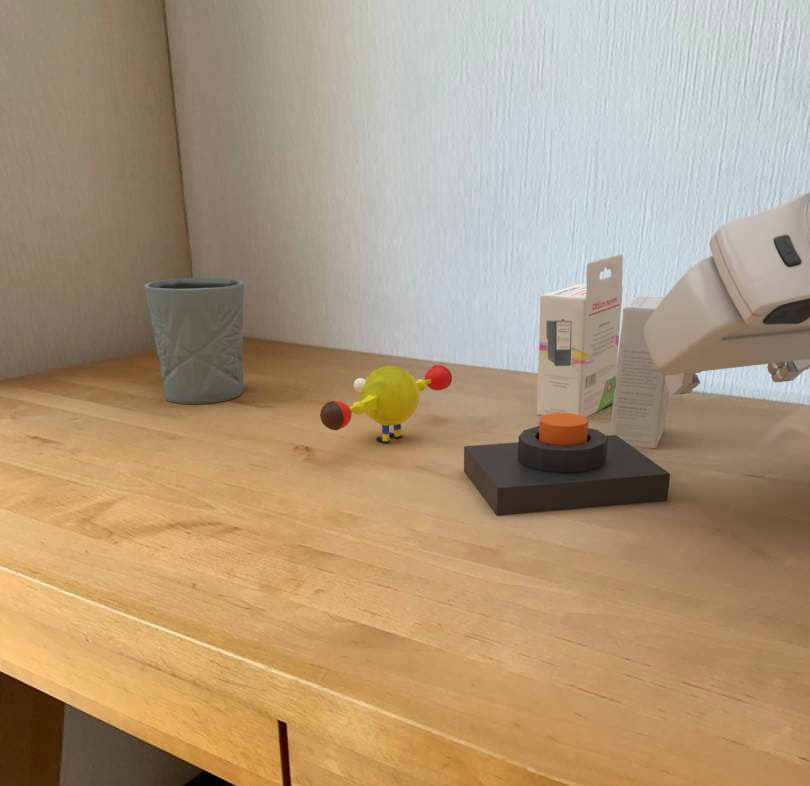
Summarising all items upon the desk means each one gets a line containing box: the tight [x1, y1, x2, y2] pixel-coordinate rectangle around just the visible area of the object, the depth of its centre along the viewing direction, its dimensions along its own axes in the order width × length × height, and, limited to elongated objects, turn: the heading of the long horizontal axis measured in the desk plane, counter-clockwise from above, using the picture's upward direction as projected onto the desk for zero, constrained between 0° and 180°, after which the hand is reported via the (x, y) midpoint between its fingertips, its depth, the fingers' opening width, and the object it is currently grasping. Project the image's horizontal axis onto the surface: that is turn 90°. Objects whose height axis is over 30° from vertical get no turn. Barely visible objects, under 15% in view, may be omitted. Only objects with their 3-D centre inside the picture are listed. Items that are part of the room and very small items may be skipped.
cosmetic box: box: [609, 296, 670, 450], centre depth 76 cm, size 6×4×12 cm
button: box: [539, 413, 589, 445], centre depth 66 cm, size 4×4×2 cm
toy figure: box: [319, 364, 453, 445], centre depth 79 cm, size 18×6×7 cm, turn 145°
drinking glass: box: [143, 277, 245, 405], centre depth 95 cm, size 10×10×12 cm
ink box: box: [536, 253, 624, 418], centre depth 85 cm, size 9×5×15 cm, turn 144°
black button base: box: [463, 425, 671, 517], centre depth 67 cm, size 13×10×4 cm
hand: (727, 380), depth 67 cm, fingers open, 8 cm apart
